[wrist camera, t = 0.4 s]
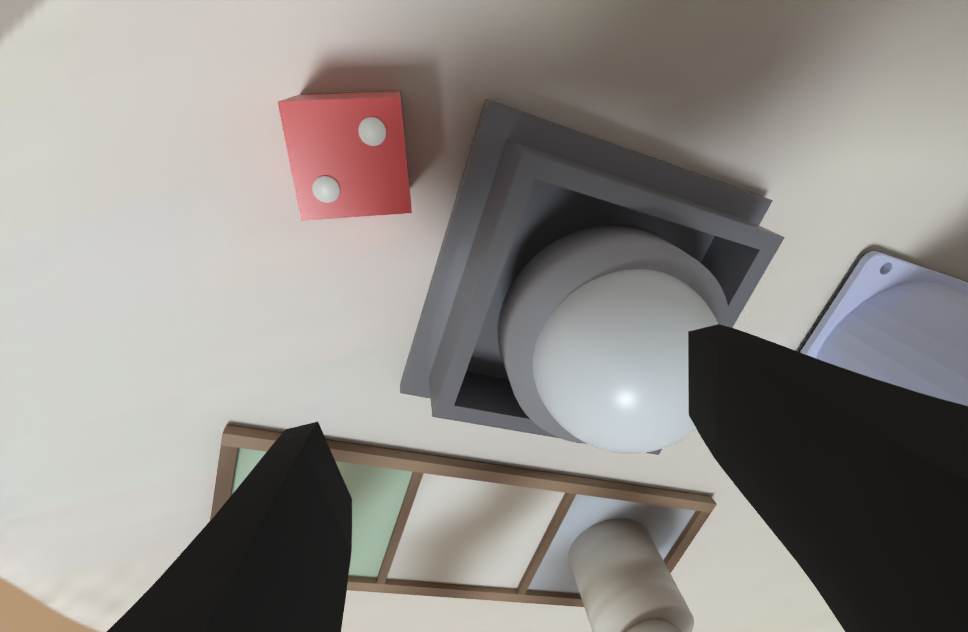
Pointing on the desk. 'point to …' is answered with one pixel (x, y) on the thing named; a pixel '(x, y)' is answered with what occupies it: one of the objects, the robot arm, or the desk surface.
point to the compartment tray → (472, 520)
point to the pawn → (626, 580)
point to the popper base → (541, 221)
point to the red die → (347, 154)
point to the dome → (608, 337)
